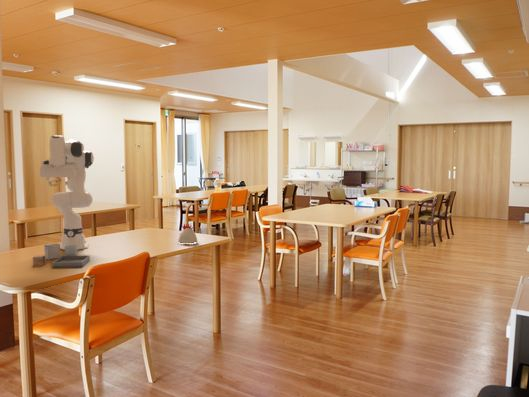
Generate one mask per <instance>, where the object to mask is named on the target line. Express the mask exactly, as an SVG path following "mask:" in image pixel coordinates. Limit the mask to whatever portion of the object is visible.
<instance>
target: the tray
mask: <svg viewBox="0 0 529 397" xmlns="http://www.w3.org/2000/svg"><path fill="white" fill-rule="evenodd" d="M90 261H91V257H90V255H77V256H65V255H60V258H56V259H55V260H54V261H52V265H51V266H52V268H53V269H59V268H60V267H62V269H64V267H65V268H66V267H68V268H71V267H72V268H83V267H84V266H86V264H88V262H90ZM72 268H71V269H72ZM60 269H61V268H60Z"/></svg>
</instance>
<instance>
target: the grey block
mask: <svg viewBox="0 0 529 397" xmlns="http://www.w3.org/2000/svg"><path fill="white" fill-rule="evenodd" d="M64 256H78V250H77V246H74V245H72V246H65V250H64Z"/></svg>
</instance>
